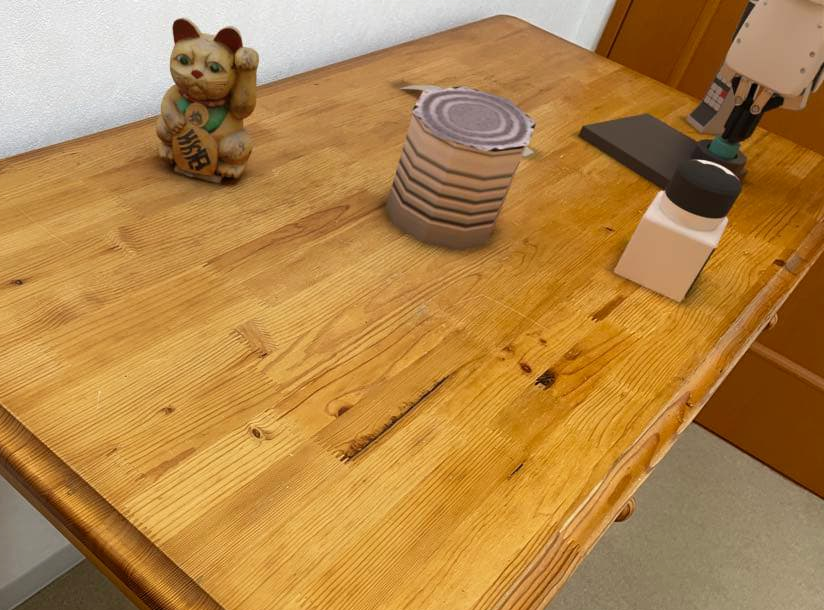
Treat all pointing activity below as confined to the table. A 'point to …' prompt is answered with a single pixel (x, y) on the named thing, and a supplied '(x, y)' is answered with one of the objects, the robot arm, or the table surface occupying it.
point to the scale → (654, 147)
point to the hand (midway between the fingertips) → (732, 139)
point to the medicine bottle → (681, 229)
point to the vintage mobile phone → (717, 95)
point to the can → (457, 166)
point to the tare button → (724, 147)
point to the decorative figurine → (208, 103)
